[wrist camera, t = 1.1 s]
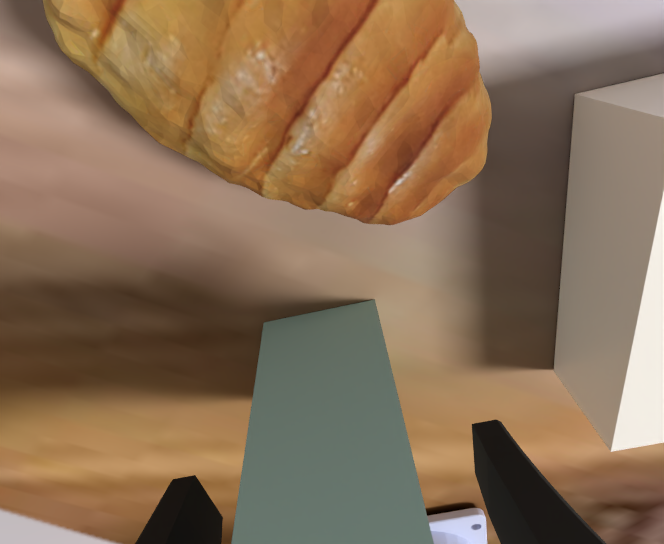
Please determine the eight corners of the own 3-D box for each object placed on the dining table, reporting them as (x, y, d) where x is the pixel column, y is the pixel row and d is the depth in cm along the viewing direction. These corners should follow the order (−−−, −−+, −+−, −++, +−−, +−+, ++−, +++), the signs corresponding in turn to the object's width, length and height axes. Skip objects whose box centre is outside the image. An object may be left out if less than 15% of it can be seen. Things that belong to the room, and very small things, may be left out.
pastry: (535, 67, 11) (635, 89, 7) (365, 254, 13) (383, 332, 10) (205, -290, 7) (123, -531, 4) (66, 51, 10) (-51, 68, 7)
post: (390, 380, 16) (455, 655, 9) (293, 399, 16) (282, 680, 9) (374, 299, 14) (440, 571, 7) (263, 322, 14) (222, 605, 7)
